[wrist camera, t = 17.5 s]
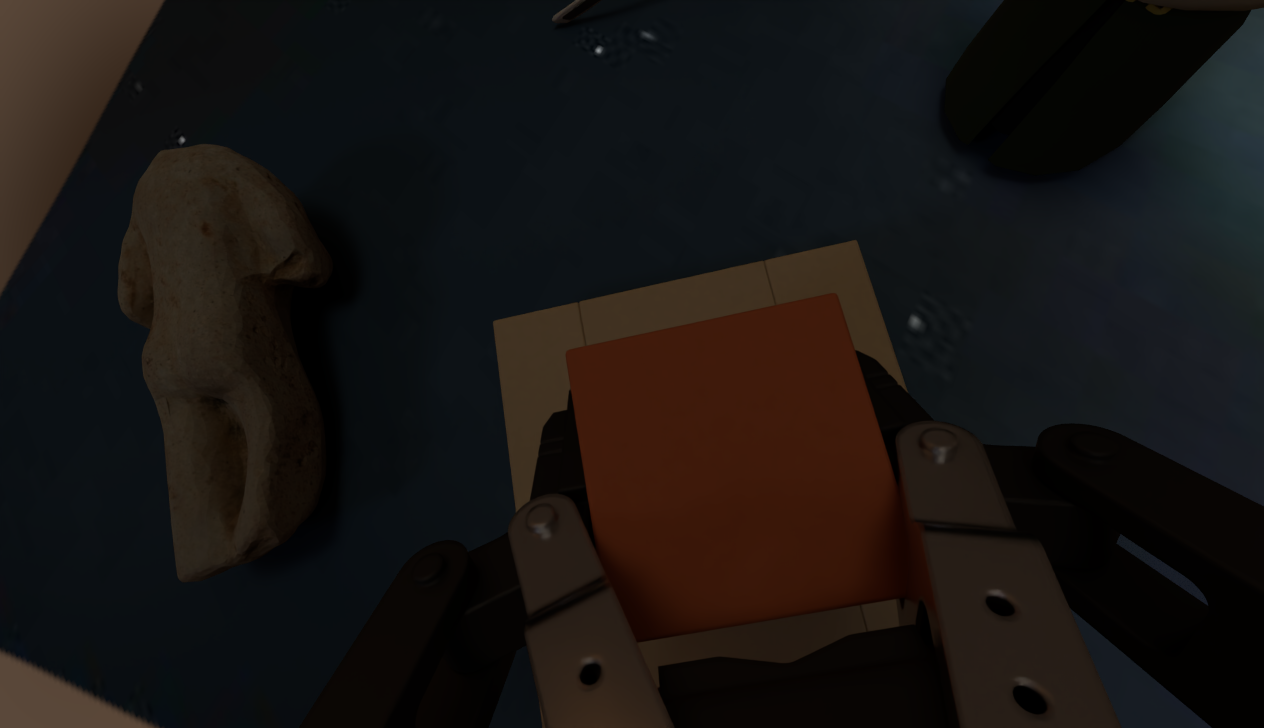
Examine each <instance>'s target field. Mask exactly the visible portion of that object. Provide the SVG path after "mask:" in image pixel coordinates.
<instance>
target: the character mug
mask: <svg viewBox="0 0 1264 728" xmlns="http://www.w3.org/2000/svg"><path fill="white" fill-rule="evenodd" d="M1258 8H1264V0H1004V1H1003V2H1002V4H1001V5H1000V6H999V7H998V9H997V10H996V11H995V12H994V14H993V15H992V16H991V18H990V19H989V20H988V21H987V23H986V24H985V25H984V26H983V28H982V29H981V30H980V32H979V33H978V34H977V35H976V37H975V38H974V39H973V41H972V42H971V43H970V44H969V46H968V47H967V49H966V50H965V52H964V53H963V55H962V56H961V58H960V59H959V61H958V62H957V64H956V65H955V67H954V68H953V70H952V71H951V73H950V74H949V76H948V77H947V79H946V94H945V113H946V115H947V117H948V119H949V121H950V123H951V125H952V127H953V129H954V131H955V132H956V134H957V136H958V138H959V140H960V141H962V142H963V143H965V144H967V145H968V144H969V143H970V142H971V141H972V140H973V139H974V138H975V137H976V136H977V134H978V133H979V132H980V131H981V130H982V129H983V128H984V127H985V126H986V125H987V124H988V123H989V121H990V122H991V124H992V125H993V126H994V127H995V128H996V130H997V131H999V132H1001V133H1004V134H1007V135H1009V136H1008V138H1007V139H1006V140H1005V141H1004V142H1003V143H1002V144H1001V146H1000V147H999V148H998V149H997V150H996V151H995V152H994V154H993V155H992V156H991V157H990V158H989V159H988V160H989V161H990V162H991V163H993V164H994V165H995V166H997V167H1002V168H1006V169H1010V170H1015V171H1019V172H1023V173H1027V174H1032V175H1043V174H1051V173H1059V172H1067V171H1075V170H1080V169H1082V168H1083V167H1085V166H1087V165H1088V164H1090V163H1092V162H1093V161H1095V160H1097V159H1098V158H1100V157H1102V156H1103V155H1105V154H1107V153H1108V152H1110V151H1112V150H1113V149H1115V148H1117V147H1118V146H1120V145H1121V144H1122V143H1123V142H1124V141H1125V140H1126V139H1128V138H1129V137H1130V136H1131V135H1132V134H1133V133H1134V132H1135V131H1136V130H1137V129H1138V128H1139V127H1140V126H1142V125H1143V124H1144V123H1145V122H1146V121H1147V120H1148V119H1149V118H1150V117H1151V116H1152V115H1153V114H1154V113H1155V112H1157V111H1158V110H1159V109H1160V108H1161V107H1162V106H1163V105H1164V104H1165V103H1166V102H1167V101H1168V100H1169V99H1170V98H1171V97H1172V96H1173V95H1174V94H1175V93H1176V92H1177V91H1178V90H1179V89H1180V88H1181V87H1182V86H1183V85H1184V84H1185V83H1186V82H1187V80H1188V79H1189V78H1190V77H1191V76H1192V75H1193V74H1194V73H1195V72H1196V71H1197V70H1198V69H1199V68H1200V67H1201V66H1202V65H1203V64H1204V63H1205V62H1206V61H1207V60H1208V59H1209V58H1210V57H1211V56H1212V55H1213V54H1214V53H1215V52H1216V51H1217V50H1218V49H1219V48H1220V47H1221V46H1222V45H1223V44H1224V43H1225V42H1226V41H1227V40H1228V39H1229V38H1230V37H1231V36H1232V35H1233V34H1234V33H1235V32H1236V31H1237V30H1238V29H1239V28H1240V27H1241V26H1242V25H1243V23H1244V22H1245V20H1246V18H1247V17H1248V15H1249V13H1250V12H1251V10H1253V9H1258Z"/></svg>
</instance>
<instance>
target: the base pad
mask: <svg viewBox="0 0 1264 728" xmlns="http://www.w3.org/2000/svg"><path fill="white" fill-rule="evenodd" d="M830 293H836V294H837V295H838V298H839V301H840V304H841V307H842V310H843V314H844V317H845V320H846V323H847V326H848V329H849V333H850V336H851V339H852V342H853V345H854V348H855V350H858V351H860V352H862V353H864V354H866V355H868V356H870V357H872V358H874V359H876V360H877V361H878V362H879V363H880V364H881V365H882V366H883V367H884V368H885V369H886V370H887V372H888V375H889V374H890V375H891V376H892V377H893V378H894V379H895V380H896V381H897V382H898V385H901V386H902V387H903V388H904V389H905V390H906V392H907V389H906V386H905V383H904V380H903V377H902V374H901V371H900V368H899V365H898V362H897V359H896V356H895V353H894V350H893V347H892V344H891V341H890V338H889V335H888V332H887V329H886V326H885V323H884V320H883V317H882V314H881V311H880V308H879V305H878V302H877V299H876V296H875V293H874V290H873V287H872V284H871V281H870V278H869V275H868V272H867V269H866V266H865V264H864V261H863V258H862V255H861V252H860V249H859V246H858V243H857V241H856V240H854V241H849V242H845V243H840V244H836V245H831V246H827V247H822V248H818V249H813V250H809V251H804V252H800V253H796V254H791V255H787V256H782V257H778V258H773V259H769V260H765V261H764V262H763V261H759V262H755V263H750V264H746V265H741V266H737V267H732V268H728V269H723V270H719V271H714V272H710V273H705V274H701V275H697V276H692V277H688V278H683V279H679V280H674V281H670V282H665V283H661V284H656V285H652V286H647V287H643V288H638V289H634V290H629V291H625V292H620V293H616V294H611V295H607V296H602V297H598V298H593V299H589V300H585V301H580V302H579V303H572V304H567V305H563V306H558V307H554V308H549V309H545V310H540V311H536V312H532V313H527V314H523V315H518V316H514V317H509V318H505V319H500V320H496V321H494V322H493V325H494V334H495V342H496V350H497V358H498V366H499V375H500V383H501V391H502V399H503V408H504V416H505V424H506V432H507V440H508V449H509V457H510V465H511V473H512V481H513V490H514V498H515V506H516V512H517V511H518V510H519V509H520V508H521V507H522V506H523V505H524V504H526V503H527V502H529V501H530V496H531V490H532V485H533V479H534V474H535V468H536V462H537V457H539V456H538V451H539V446H540V445H541V443H540V440H541V435H542V429H543V426H544V425H545V423H546V422H547V421H548V419H549V418H550V416H551V415H552V414H553V412H558V411H563V410H567V403H568V395H569V390H570V389H571V388H570V381H569V375H568V369H567V362H566V356H565V355H566V351H568V350H569V349H574V348H579V347H583V346H588V345H593V344H597V343H602V342H606V341H611V340H616V339H620V338H625V337H630V336H634V335H639V334H644V333H648V332H653V331H658V330H662V329H667V328H672V327H676V326H681V325H686V324H690V323H695V322H699V321H704V320H709V319H713V318H718V317H723V316H727V315H732V314H737V313H741V312H746V311H751V310H755V309H760V308H765V307H769V306H774V305H779V304H783V303H788V302H793V301H797V300H802V299H806V298H811V297H816V296H820V295H825V294H830ZM907 393H908V392H907ZM892 627H899V619H898V611H897V604H896V599H894V600H888V601H882V602H876V603H870V604H864V605H858V606H852V607H846V608H840V609H834V610H828V611H822V612H817V613H811V614H805V615H799V616H793V617H787V618H781V619H775V620H769V621H763V622H757V623H751V624H745V625H740V626H734V627H728V628H722V629H716V630H710V631H704V632H698V633H692V634H686V635H680V636H674V637H668V638H662V639H657V640H651V641H645V642H639V643H638V646H639V648H640V650H641V653H642V655H643V657H644V659H645V662H646V664H647V666H648V668H649V671H650V673H651V675H652V678H653V680H654V682H655V684H656V687H657V688H658V687H660V685H659V673H658V666H663V665H669V664H675V663H681V662H687V661H693V660H699V659H705V658H711V657H718V656H721V657H730V658H740V659H749V660H758V661H768V662H777V663H790V662H793V661H796V660H798V659H800V658H802V657H804V656H806V655H808V654H810V653H812V652H814V651H817V650H819V649H821V648H823V647H825V646H827V645H829V644H831V643H833V642H835V641H837V640H839V639H841V638H843V637H845V636H847V635H850V634H856V633H862V632H868V631H874V630H880V629H886V628H892ZM539 703H540V702H539ZM540 711H541V707H540ZM541 719H542V728H545V725H544V720H543V716H542V711H541Z"/></svg>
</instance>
